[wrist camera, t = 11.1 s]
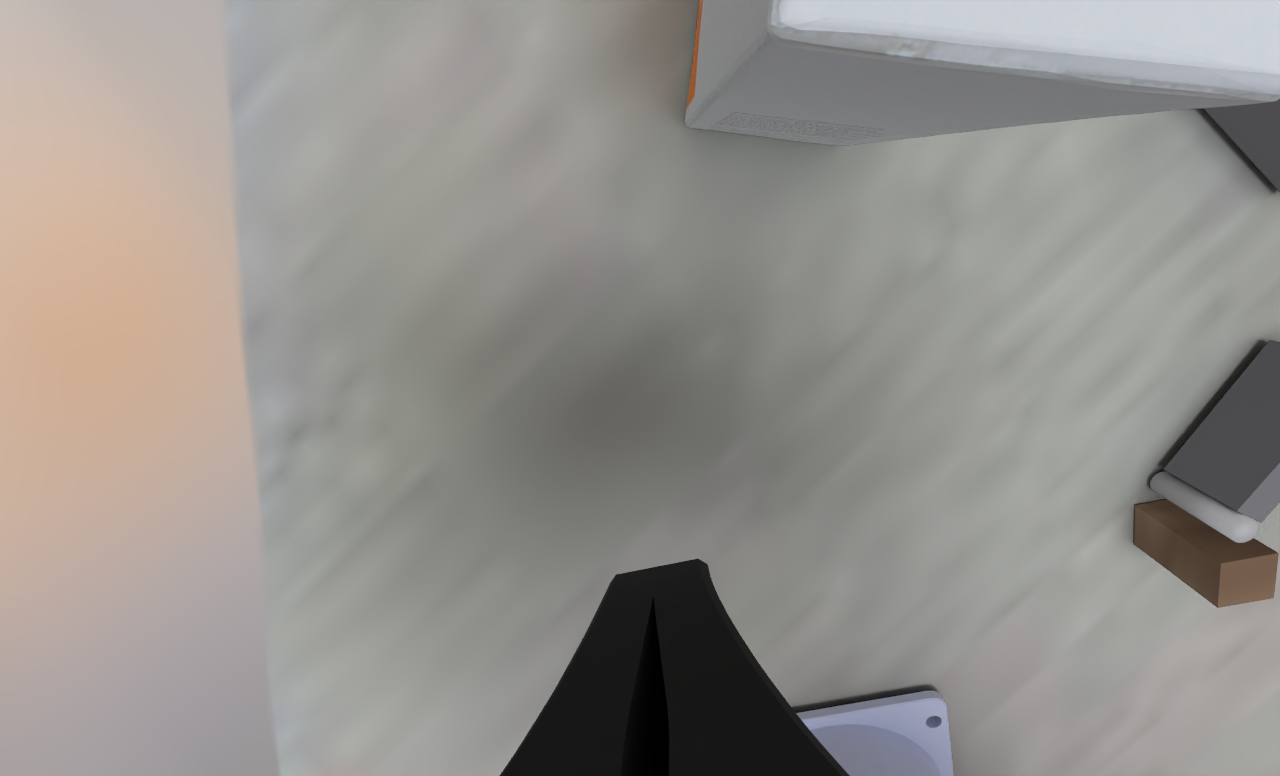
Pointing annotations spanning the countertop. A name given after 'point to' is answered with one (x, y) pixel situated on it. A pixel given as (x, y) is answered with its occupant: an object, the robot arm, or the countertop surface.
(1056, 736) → the countertop surface
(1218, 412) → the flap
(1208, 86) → the skincare box
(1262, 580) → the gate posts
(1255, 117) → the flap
